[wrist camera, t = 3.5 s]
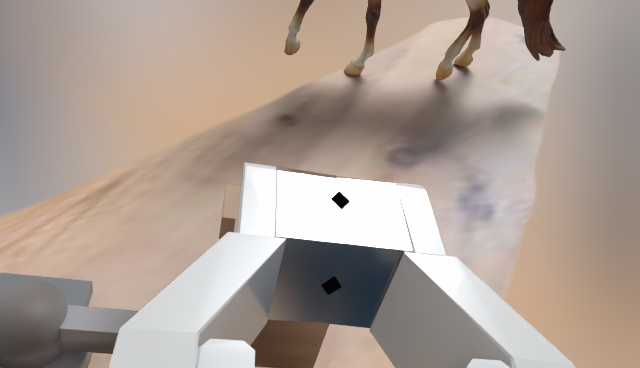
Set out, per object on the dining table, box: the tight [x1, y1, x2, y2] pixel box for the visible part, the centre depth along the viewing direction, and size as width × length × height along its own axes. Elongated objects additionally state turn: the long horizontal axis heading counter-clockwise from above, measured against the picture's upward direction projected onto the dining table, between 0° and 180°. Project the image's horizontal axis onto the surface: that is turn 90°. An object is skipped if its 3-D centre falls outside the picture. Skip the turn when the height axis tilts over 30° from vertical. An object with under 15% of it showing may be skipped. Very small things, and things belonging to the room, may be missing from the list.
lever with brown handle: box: [0, 184, 329, 368], centre depth 21 cm, size 22×3×10 cm, turn 93°
